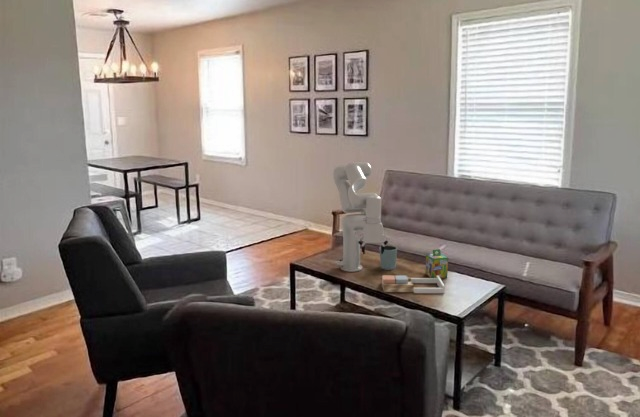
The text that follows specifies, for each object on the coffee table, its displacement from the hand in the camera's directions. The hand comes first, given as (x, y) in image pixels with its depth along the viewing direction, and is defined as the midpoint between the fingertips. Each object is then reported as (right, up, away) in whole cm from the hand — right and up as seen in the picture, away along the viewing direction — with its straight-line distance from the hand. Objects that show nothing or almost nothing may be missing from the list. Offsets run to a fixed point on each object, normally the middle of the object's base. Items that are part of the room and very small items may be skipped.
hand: (372, 253), depth 256 cm
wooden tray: (+13, -18, +4) cm, 22 cm away
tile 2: (+15, -16, +3) cm, 22 cm away
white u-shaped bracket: (+28, -18, +3) cm, 33 cm away
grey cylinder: (+12, -11, +35) cm, 39 cm away
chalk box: (+37, -14, +21) cm, 45 cm away
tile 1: (+8, -16, +3) cm, 18 cm away
